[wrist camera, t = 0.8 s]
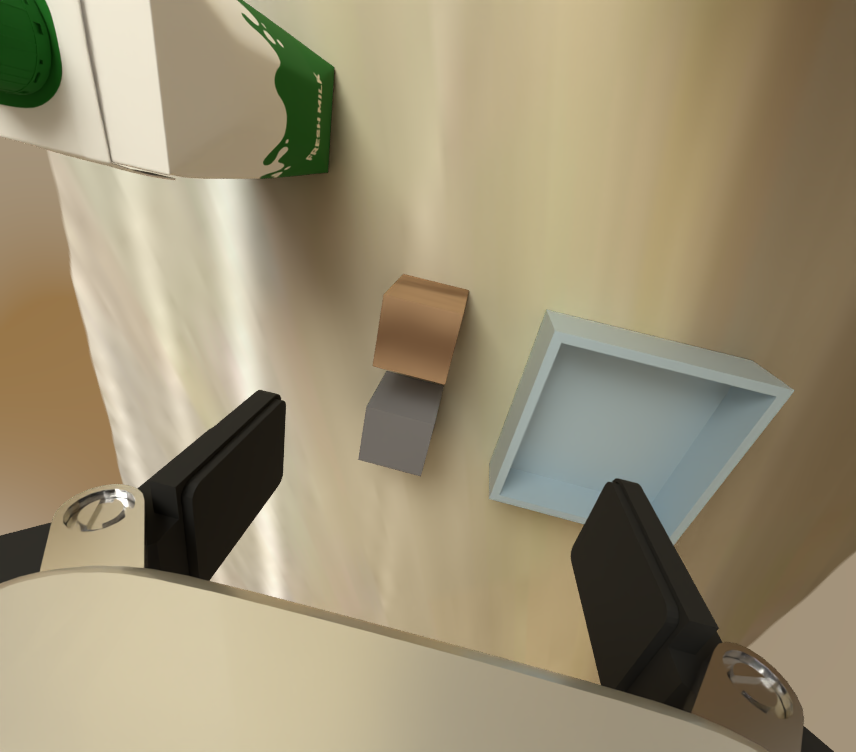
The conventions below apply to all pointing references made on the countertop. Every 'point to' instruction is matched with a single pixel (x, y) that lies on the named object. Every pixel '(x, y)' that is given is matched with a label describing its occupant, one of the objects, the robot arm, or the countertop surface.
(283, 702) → the robot arm
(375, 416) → the charcoal block
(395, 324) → the walnut block
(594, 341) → the bin
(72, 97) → the soya milk
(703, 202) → the countertop surface
